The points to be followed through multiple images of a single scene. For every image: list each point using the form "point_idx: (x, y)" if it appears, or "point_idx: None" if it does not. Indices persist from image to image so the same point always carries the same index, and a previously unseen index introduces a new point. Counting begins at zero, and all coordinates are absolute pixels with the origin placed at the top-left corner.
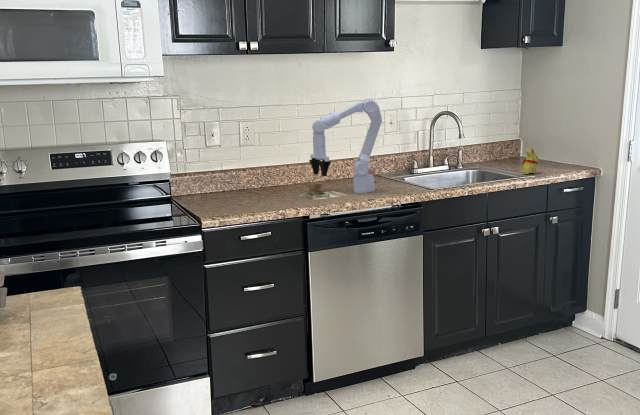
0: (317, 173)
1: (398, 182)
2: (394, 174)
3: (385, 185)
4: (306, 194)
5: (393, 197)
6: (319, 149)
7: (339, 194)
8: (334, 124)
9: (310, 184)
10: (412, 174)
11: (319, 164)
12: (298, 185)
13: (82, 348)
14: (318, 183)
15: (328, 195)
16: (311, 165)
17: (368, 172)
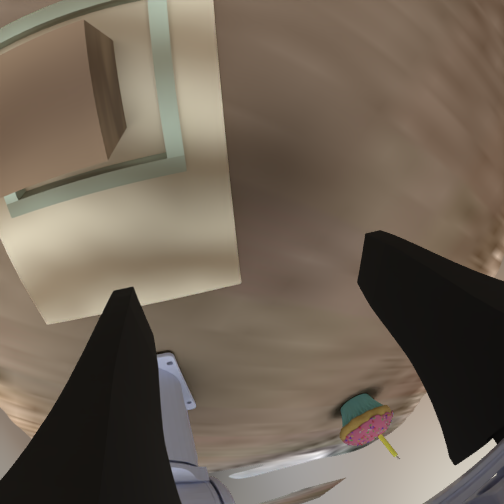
0: (365, 278)
1: (286, 450)
2: None
3: (268, 437)
4: (79, 8)
5: (34, 424)
6: None
7: (82, 291)
8: None
9: (31, 42)
10: (346, 451)
11: (93, 492)
12: (499, 187)
13: None
14: (5, 158)
15: (12, 202)
16: (499, 282)
17: (352, 437)
